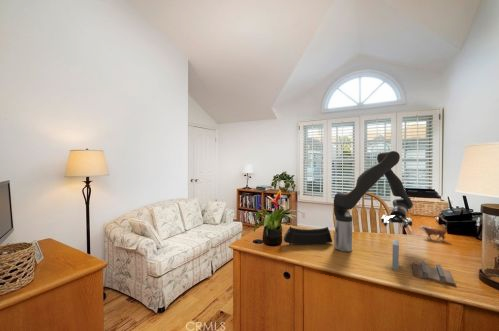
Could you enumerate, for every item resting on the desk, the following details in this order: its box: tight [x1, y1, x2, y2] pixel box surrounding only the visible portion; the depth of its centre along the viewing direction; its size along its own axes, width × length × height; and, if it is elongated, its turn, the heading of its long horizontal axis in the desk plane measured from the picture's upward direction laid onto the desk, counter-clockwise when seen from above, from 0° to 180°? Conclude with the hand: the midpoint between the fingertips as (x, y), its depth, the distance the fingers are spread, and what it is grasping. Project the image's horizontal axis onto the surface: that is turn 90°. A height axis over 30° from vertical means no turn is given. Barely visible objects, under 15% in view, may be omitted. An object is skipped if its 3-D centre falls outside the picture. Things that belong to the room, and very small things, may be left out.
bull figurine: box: [419, 225, 447, 242], centre depth 146 cm, size 4×13×8 cm, turn 54°
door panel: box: [391, 239, 400, 271], centre depth 109 cm, size 2×8×12 cm, turn 145°
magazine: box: [283, 226, 333, 246], centre depth 138 cm, size 17×3×30 cm
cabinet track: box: [412, 260, 457, 287], centre depth 101 cm, size 14×13×3 cm
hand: (394, 225), depth 118 cm, fingers open, 8 cm apart
